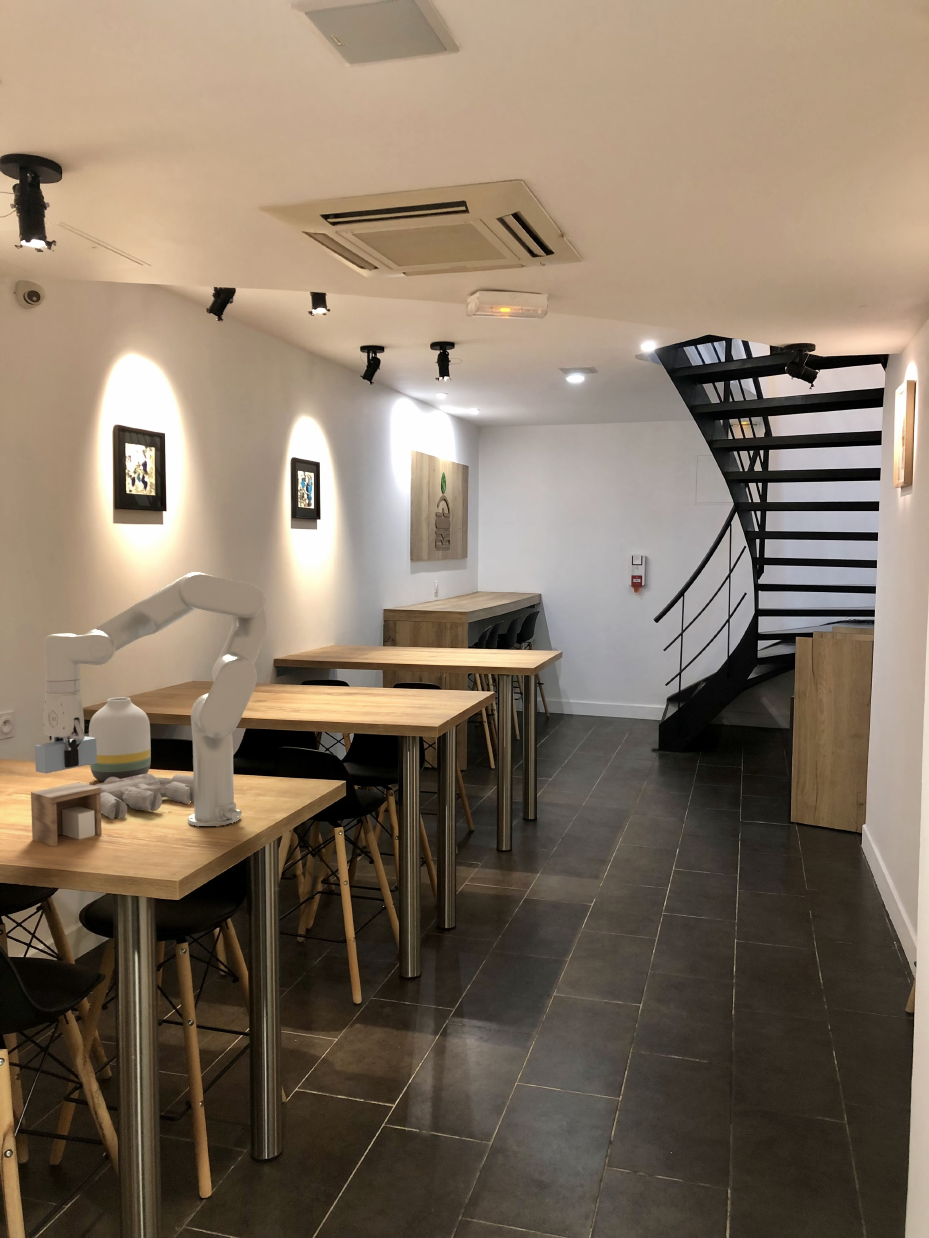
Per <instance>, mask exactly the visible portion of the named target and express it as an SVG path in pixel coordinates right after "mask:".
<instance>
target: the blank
mask: <svg viewBox="0 0 929 1238" xmlns="http://www.w3.org/2000/svg"><path fill="white" fill-rule="evenodd" d="M84 737H85V738H84V740H83V741H82V742H81V743H80V748H79V749H78V755H79V765H78V766H74V767H69V768H66V767H65V758H64V751H65V750H66V745H65V740H63V741H57V742H52V743H51V742H47V743H41V744H40V743H39V744H35V745H34V757H35V758H34V759H35V764H34V765H35V772H37V773H41V774H45V775H46V774H51V773H55V772H56V773H57V772H60V771H65V770H69V769H75V768H80V767H85V766H90V765H91V764H95V763H97V746H96V738H92V737H89V736H86V735H85V736H84ZM73 739H74V738H73ZM73 739H70V743H71V741H72V740H73Z"/></svg>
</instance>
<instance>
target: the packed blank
mask: <svg viewBox="0 0 929 1238" xmlns="http://www.w3.org/2000/svg"><path fill="white" fill-rule="evenodd" d="M62 825H63V834H62V835H64V836H66V835H67V837H70V838H73V839H77V840H84V839H85V838H86V839H87V838H90V837H91V838H92V837H94V835H95V836H96V834H95V818H94V810H90V809H87V808H83V807H79V806H76V807H71V808H67V809H63V810H62Z"/></svg>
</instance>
